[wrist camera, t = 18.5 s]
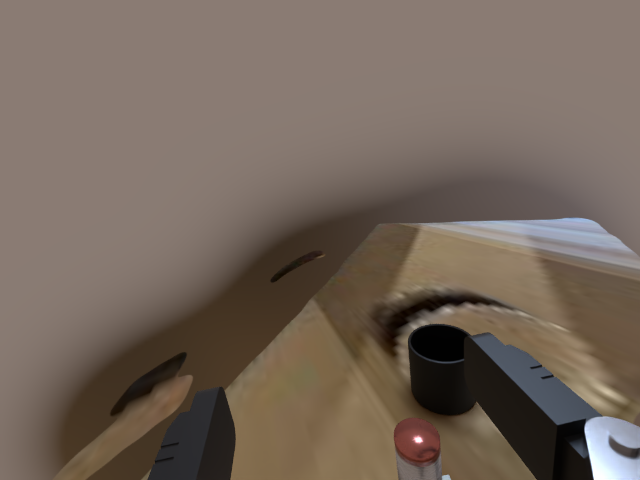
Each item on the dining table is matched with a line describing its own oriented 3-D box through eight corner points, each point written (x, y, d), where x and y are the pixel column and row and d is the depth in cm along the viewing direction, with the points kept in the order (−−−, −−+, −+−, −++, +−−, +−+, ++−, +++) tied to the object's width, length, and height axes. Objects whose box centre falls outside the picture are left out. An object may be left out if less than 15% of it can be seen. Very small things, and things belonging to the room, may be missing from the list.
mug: (477, 365, 54) (477, 318, 51) (476, 423, 44) (476, 368, 41) (419, 356, 58) (416, 312, 55) (406, 407, 48) (402, 356, 45)
